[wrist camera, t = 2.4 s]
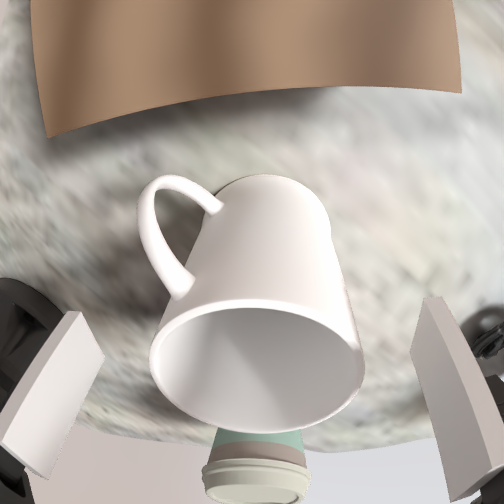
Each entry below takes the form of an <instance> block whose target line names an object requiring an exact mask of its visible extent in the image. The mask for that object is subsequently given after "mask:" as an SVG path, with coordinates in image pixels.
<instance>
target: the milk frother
mask: <svg viewBox="0 0 504 504" xmlns="http://www.w3.org/2000/svg"><path fill="white" fill-rule="evenodd" d="M502 348H504V322H503V323H501V324H500V325H498V326H496V327H495V328H493V329H491V330H490V331H488V332H487V333H485V334H483V335H480V336H479V337H478V340H477V341H476V342H475V343H474V344H473V345H472V347H471V351H472V353H473V355H474V357H475V358H478V357H479V358H480V360H482V359H483V358H485V359H488V358H491V357H493V356H495V355H497V353H498V351H499V350H500V349H502Z"/></svg>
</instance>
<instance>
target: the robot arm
mask: <svg viewBox="0 0 504 504" xmlns="http://www.w3.org/2000/svg"><path fill="white" fill-rule="evenodd" d="M410 355H411V358H412V361H413V364H414V367H415V370H416V373H417V376H418V379H419V382H420V385H421V388H422V391H423V395H424V398H425V401H426V404H427V408H428V411H429V415H430V418H431V422H432V425H433V429H434V433H435V437H436V440H437V444H438V448H439V452H440V456H441V460H442V464H443V469H444V474H445V478H446V483H447V488H448V493H449V498H450V502H454V501H457V500H460V499H462V498H465V497H468V496H471V495H472V494H474V493H475V492H476V491H478V490H479V489H480V492H481V496H479V497H478V498H477V499H475V500H474V501H472V502H471V504H504V382H503V381H502V380H501V379H500V378H499V377H498V376H497V375H493V376H489V377H485V378H484V376H483V374H482V372H481V370H480V367H479V365H478V363H477V361H476V359H475V357H474V355H473V353H472V351H471V349H470V347H469V345H468V343H467V341H466V339H465V337H464V335H463V333H462V332H461V330H460V328H459V326H458V324H457V322H456V320H455V319H454V317H453V315H452V313H451V311H450V310H449V308H448V306H447V304H446V303H445V301H444V299H443V297H442V296H440V297H432V298H424V299H423V303H422V307H421V311H420V315H419V319H418V323H417V327H416V331H415V335H414V338H413V342H412V345H411V349H410ZM104 360H105V356H104V354H103V353H102V351H101V349H100V347H99V345H98V343H97V342H96V340H95V338H94V336H93V334H92V332H91V330H90V328H89V326H88V324H87V322H86V320H85V318H84V316H83V314H82V312H81V311H67V313H66V314H65V315H63V314H62V313H61V312H60V311H59V310H58V309H57V308H56V307H55V306H54V305H53V304H52V303H51V302H50V301H49V300H47V299H46V298H45V297H44V296H42V295H41V294H40V293H38V292H37V291H36V290H34V289H32V288H31V287H29V286H27V285H25V284H23V283H21V282H19V281H16V280H13V279H8V278H0V504H35V503H34V499H33V495H32V491H31V487H30V483H29V479H28V475H27V473H26V472H25V471H24V468H25V467H27V468H28V469H29V470H30V471H32V472H33V473H34V474H36V475H38V476H40V477H43V478H45V479H47V480H49V478H50V475H51V473H52V470H53V468H54V466H55V463H56V461H57V459H58V456H59V453H60V452H61V449H62V447H63V445H64V442H65V440H66V438H67V436H68V433H69V431H70V429H71V427H72V425H73V423H74V421H75V418H76V416H77V414H78V412H79V410H80V408H81V406H82V404H83V402H84V400H85V397H86V395H87V393H88V391H89V389H90V387H91V385H92V383H93V381H94V379H95V377H96V375H97V373H98V371H99V369H100V367H101V366H102V364H103V362H104Z"/></svg>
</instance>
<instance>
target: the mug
mask: <svg viewBox="0 0 504 504" xmlns="http://www.w3.org/2000/svg"><path fill="white" fill-rule="evenodd" d="M159 189H170V190H174V191H177V192H179V193H181V194H183V195H185V196H187V197H189V198H190V199H192V200H193V201H195V202H196V203H197V204H199V205H200V206H201V207H202V208H203V209H204V210H205V211H206V212H205V214H204V217H203V221H202V228H201V231H200V233H199V236H198V238H197V240H196V242H195V244H194V246H193V249H192V251H191V253H190V255H189V257H188V260H187V262H186V264H185V266H184V267H183V266H182V265H181V263H180V262H179V261H178V260H177V258H176V257H175V256H174V254H173V253H172V251H171V250H170V248H169V246H168V245H167V243H166V241H165V239H164V237H163V235H162V233H161V231H160V228H159V225H158V223H157V219H156V215H155V210H154V196H155V192H156V191H157V190H159ZM136 217H137V226H138V231H139V235H140V239H141V242H142V245H143V247H144V250H145V252H146V255H147V257H148V259H149V261H150V263H151V265H152V266H153V268H154V270H155V272H156V273H157V275H158V276H159V278H160V279H161V281H162V282H163V284H164V285H165V287H166V288H167V289H168V291H169V293H170V294H171V298H170V300H169V303H168V305H167V307H166V310H165V312H164V314H163V317H162V319H161V322H160V324H159V326H158V329H157V331H156V334H155V336H154V339H153V341H152V344H151V347H150V352H149V366H150V371H151V374H152V377H153V379H154V381H155V383H156V385H157V386H158V388H159V389H160V391H161V392H162V393H163V394H164V396H165V397H166V398H167V399H168V400H169V401H170V402H171V403H173V404H174V405H175V406H176V407H178V408H179V409H180V410H182V411H183V412H185V413H187V414H188V415H190V416H192V417H194V418H196V419H198V420H200V421H202V422H205V423H207V424H210V425H213V426H216V427H219V428H223V429H227V430H231V431H237V432H244V433H256V434H269V433H282V432H289V431H294V430H299V429H302V428H306V427H309V426H312V425H315V424H317V423H320V422H322V421H324V420H326V419H328V418H330V417H331V416H333V415H335V414H336V413H338V412H339V411H340V410H342V409H343V408H344V407H345V406H346V405H347V404H349V402H350V401H351V400H352V399H353V398H354V397H355V395H356V394H357V392H358V391H359V389H360V387H361V384H362V382H363V378H364V374H365V361H364V355H363V351H362V347H361V343H360V339H359V335H358V331H357V327H356V323H355V319H354V316H353V312H352V308H351V305H350V301H349V297H348V294H347V290H346V287H345V283H344V280H343V276H342V273H341V270H340V266H339V263H338V260H337V256H336V253H335V250H334V247H333V243H332V240H331V228H330V222H329V218H328V215H327V213H326V210H325V208H324V207H323V205H322V203H321V202H320V201H319V199H318V198H317V197H316V196H315V195H314V194H313V193H312V192H311V191H310V190H309V189H308V188H306V187H305V186H303V185H302V184H300V183H298V182H296V181H294V180H292V179H289V178H286V177H283V176H278V175H270V174H260V175H252V176H248V177H244V178H241V179H239V180H236V181H234V182H232V183H231V184H229V185H227V186H226V187H225V188H223V189H222V190H221V191H220V192H219V193H218V194H217V195H216V196H215V197H214V196H213V195H212V194H211V193H209V192H208V191H207V190H205V189H204V188H203V187H201V186H200V185H198V184H196V183H195V182H193V181H191V180H189V179H187V178H184V177H181V176H177V175H162V176H159V177H157V178H155V179H153V180H152V181H151V182H149V183H148V184H147V185H146V187H145V188H144V189H143V191H142V192H141V194H140V197H139V199H138V203H137V212H136Z"/></svg>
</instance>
